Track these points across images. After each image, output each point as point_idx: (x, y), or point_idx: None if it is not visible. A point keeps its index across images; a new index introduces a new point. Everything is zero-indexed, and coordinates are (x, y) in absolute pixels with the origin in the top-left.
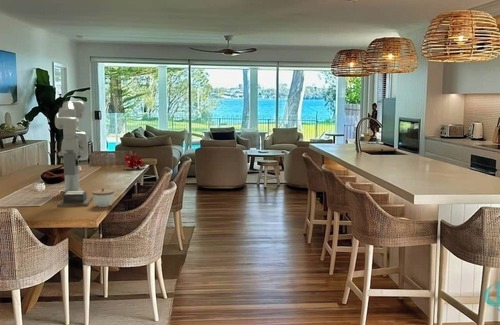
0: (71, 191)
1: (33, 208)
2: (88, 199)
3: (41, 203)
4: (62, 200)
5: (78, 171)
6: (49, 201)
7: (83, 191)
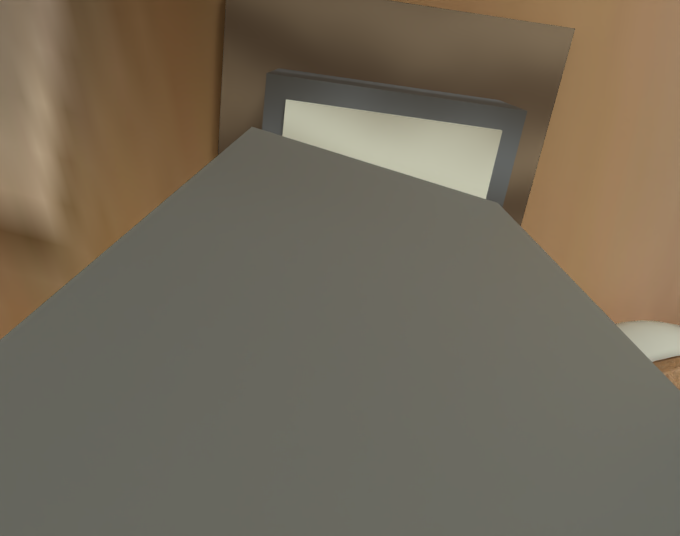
0: (331, 131)
1: (17, 315)
2: (513, 166)
3: (20, 103)
4: (235, 139)
5: (511, 219)
6: (78, 8)
7: (485, 178)
